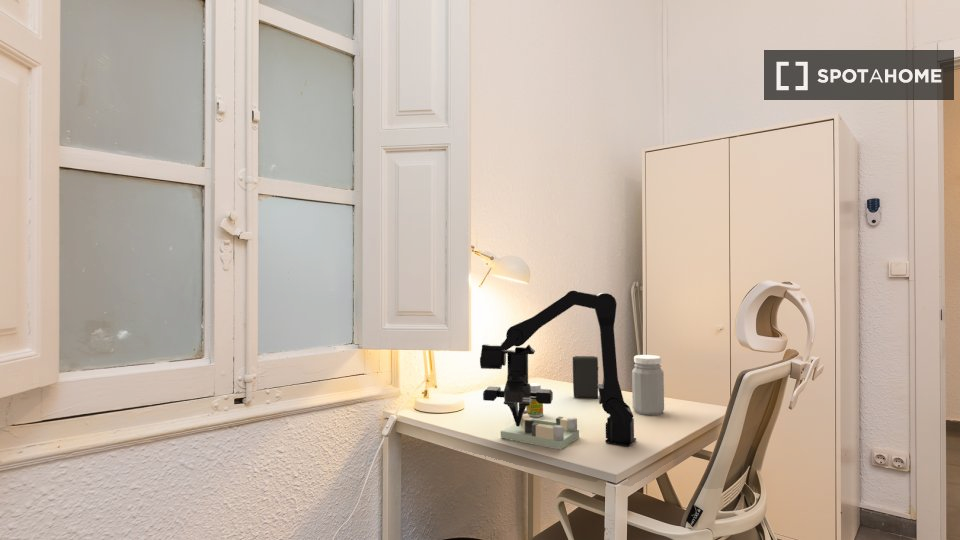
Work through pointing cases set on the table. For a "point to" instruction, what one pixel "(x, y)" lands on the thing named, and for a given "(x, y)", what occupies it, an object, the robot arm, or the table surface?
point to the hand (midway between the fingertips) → (518, 426)
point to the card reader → (585, 376)
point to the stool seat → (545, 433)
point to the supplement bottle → (535, 403)
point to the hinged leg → (526, 422)
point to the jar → (648, 385)
